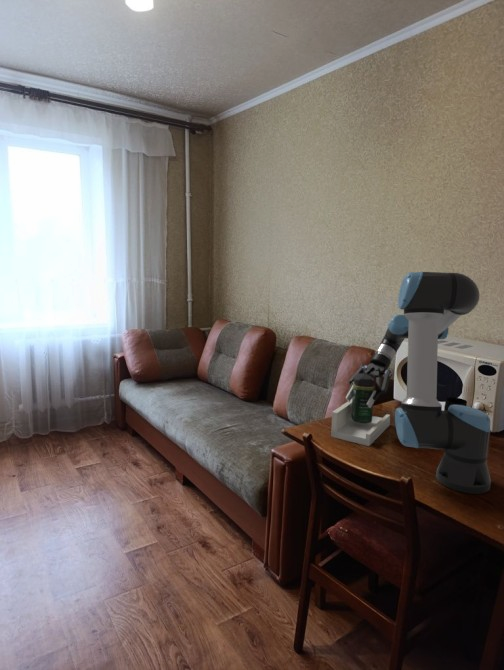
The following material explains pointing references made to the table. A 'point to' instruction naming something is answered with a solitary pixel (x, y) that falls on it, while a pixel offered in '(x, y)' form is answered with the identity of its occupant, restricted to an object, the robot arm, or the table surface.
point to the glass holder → (454, 402)
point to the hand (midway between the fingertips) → (357, 402)
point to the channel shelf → (356, 426)
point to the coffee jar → (362, 398)
